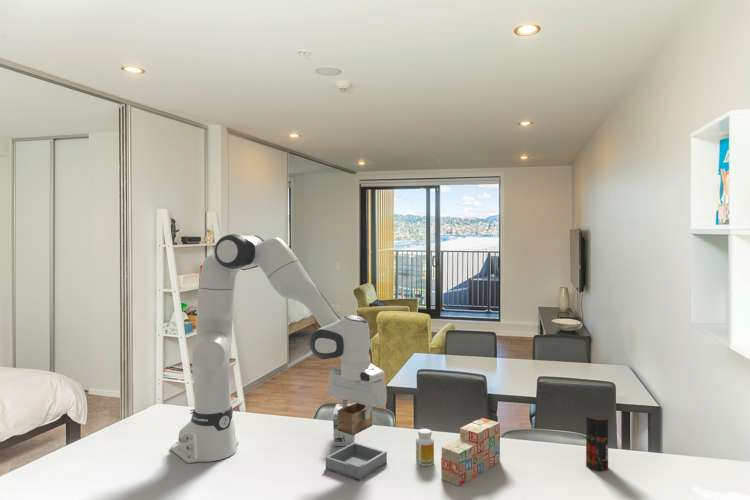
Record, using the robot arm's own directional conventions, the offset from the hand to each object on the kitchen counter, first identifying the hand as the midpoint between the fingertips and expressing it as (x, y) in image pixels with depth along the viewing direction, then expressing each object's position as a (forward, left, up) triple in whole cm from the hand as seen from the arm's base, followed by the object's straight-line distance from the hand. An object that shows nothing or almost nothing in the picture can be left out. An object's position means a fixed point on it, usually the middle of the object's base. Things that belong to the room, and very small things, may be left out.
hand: (356, 416), depth 147 cm
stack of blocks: (+29, +18, -15) cm, 37 cm away
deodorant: (+58, +41, -15) cm, 73 cm away
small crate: (0, -1, -3) cm, 3 cm away
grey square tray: (0, 0, -15) cm, 15 cm away
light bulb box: (-16, +13, -15) cm, 25 cm away
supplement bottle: (+15, +14, -15) cm, 26 cm away
